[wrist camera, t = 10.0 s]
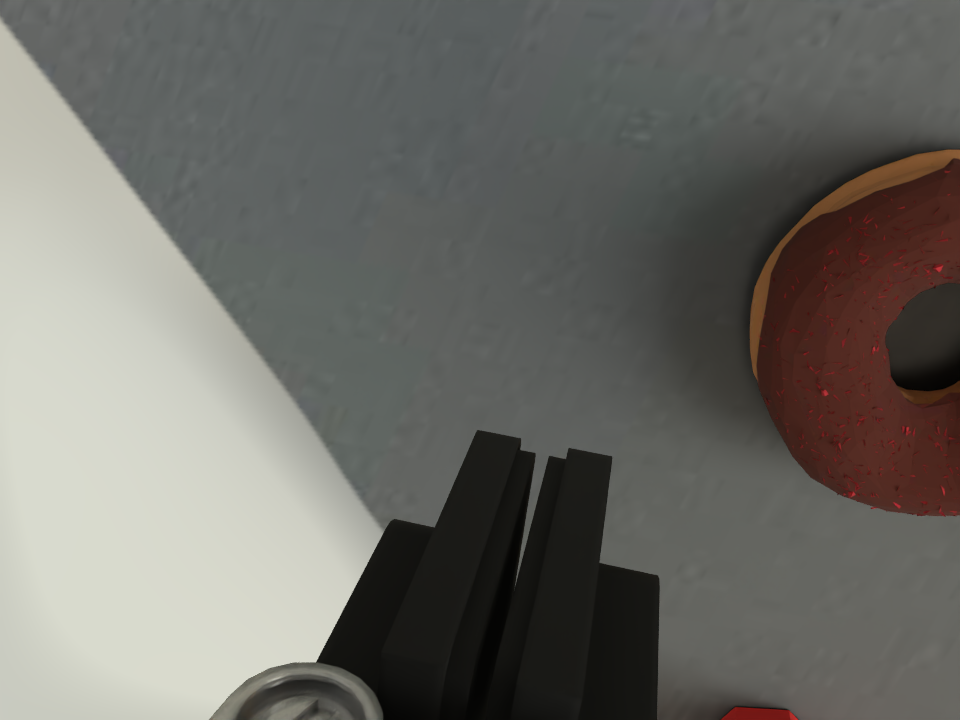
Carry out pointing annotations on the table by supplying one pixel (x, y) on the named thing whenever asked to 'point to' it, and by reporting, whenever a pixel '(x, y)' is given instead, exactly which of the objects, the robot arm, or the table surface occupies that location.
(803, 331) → the donut
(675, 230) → the table surface
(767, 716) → the french fries
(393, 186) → the table surface
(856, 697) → the table surface
